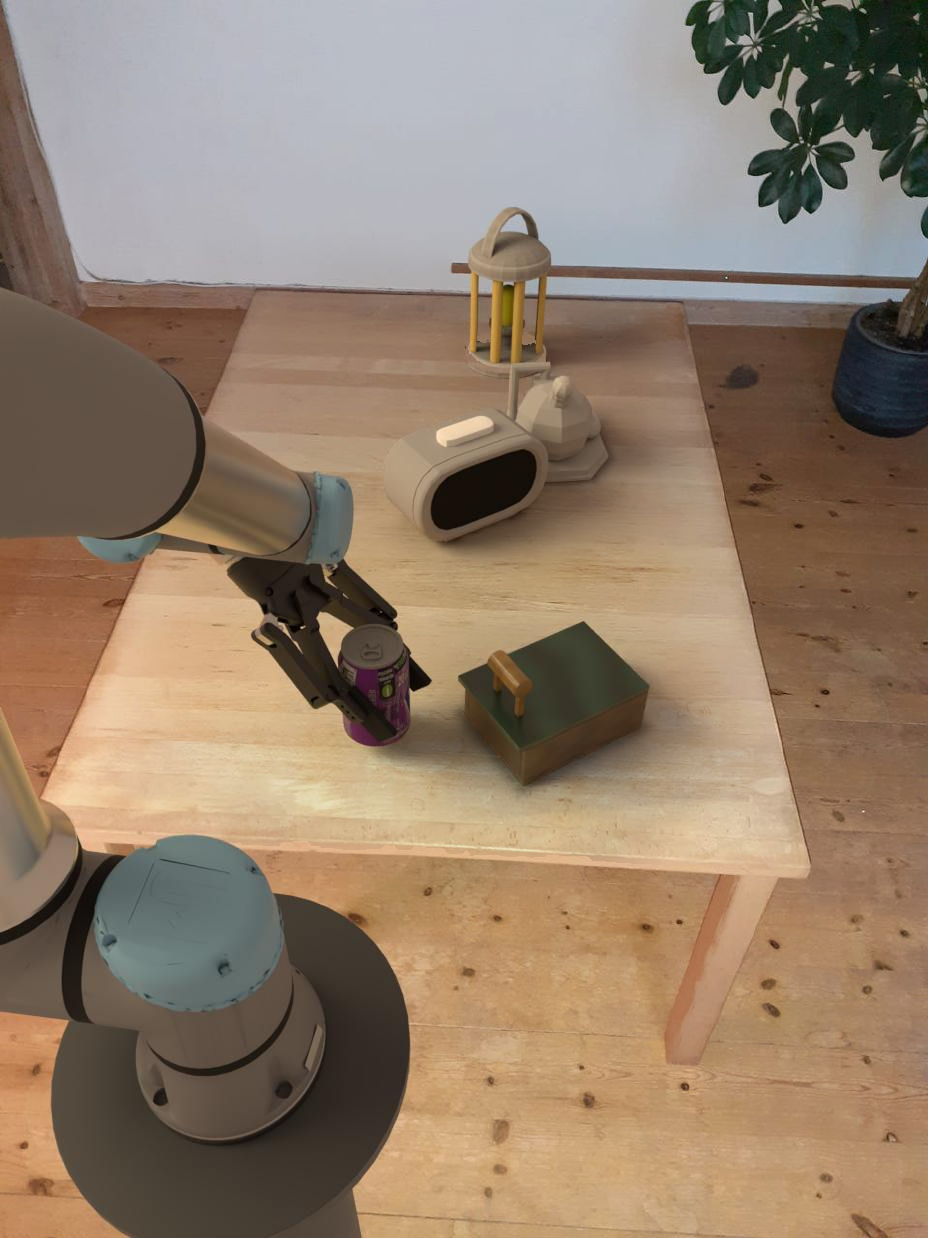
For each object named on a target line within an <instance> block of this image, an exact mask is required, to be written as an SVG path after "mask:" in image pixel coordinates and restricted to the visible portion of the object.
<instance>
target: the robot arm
mask: <svg viewBox="0 0 928 1238" xmlns="http://www.w3.org/2000/svg"><path fill="white" fill-rule="evenodd" d="M354 505H355V504H354V495H353V490H352V487H351V485H350V483H349V482H348V480H347V479H345V477H342V476H339V475H333V474H324V473H321V472H319V471H313V472H306V471H297V470H293V469H291V468H289V467H288V466H286V465H285V464H283V463H281V462H279V461H278V460H276V459H274V458H273V457H271V456H270V455H268V454H266V453H265V452H263V451H261V450H259V449H258V448H256V447H255V446H253V445H251V444H249V443H248V442H246V441H244V439H241V438H240V437H238V436H237V435H235V434H233V433H232V432H230V431H228V430H227V429H226V428H223V427H222V426H220V425H219V424H217V423H215V422H213V421H212V420H211V419H209V418H207V417H206V416H204V415H202V411H201V410H200V408H199V405H198V403H197V401H196V400H195V399H194V397H193V395H192V393H191V392H190V391H189V390H188V389H187V387H186V386H185V385H184V384H183V383H182V382H181V381H180V380H179V379H178V378H177V377H175V376H174V375H173V374H172V373H171V372H169V371H168V370H167V369H165V368H164V367H162V366H160V365H159V364H158V363H156V362H155V361H153V360H151V359H150V358H148V357H147V356H145V354H142V353H141V352H140V351H138V350H136V349H134V348H133V347H131V346H128V345H126V344H125V343H123V342H121V341H120V340H118V339H117V338H114V337H113V336H111V335H109V334H107V333H105V332H103V331H101V330H99V329H98V328H95V327H94V326H92V325H90V324H88V323H86V322H84V321H82V320H80V319H77V318H75V317H73V316H71V315H69V314H66V313H64V312H62V311H60V310H58V309H56V308H53V307H52V306H49V305H48V304H45V303H43V302H41V301H38V300H35V299H34V298H31V297H28V296H26V295H25V294H21V293H18V292H15V291H12V290H10V289H8V288H7V289H6V288H4V287H1V286H0V539H24V538H25V539H26V538H30V539H31V538H64V537H67V538H71V537H73V538H75V537H77V539H78V541H79V542H80V544H81V545H82V546H83V547H84V548H85V549H86V550H87V551H88V552H89V553H90V554H92V555H93V556H95V557H97V558H98V559H99V560H102V561H105V562H108V563H111V564H116V565H126V564H133V563H134V562H138V561H139V560H141V559H144V558H146V557H147V556H151V555H152V554H153V553H154V552H155V551H156V550H167V551H176V552H186V553H198V554H207V556H209V558H210V559H211V560H212V561H213V562H214V563H215V564H216V565H217V566H221V567H223V566H225V565H226V566H227V569H226V576H227V577H228V578H229V579H230V580H231V582H233V584H235V585H236V586H237V588H239V590H240V591H241V592H242V594H244V595H245V596H246V597H248V598H249V599H252V600H254V601H255V602H256V603H257V604H258V606H259V607H260V609H261V613H262V615H263V618H262V620H261V622H260V623H259V626H258V627H257V628H255V629H253V630H252V631H251V632H250V638H251V640H252V641H253V642H255V643H256V644H258V645H259V646H261V647H262V648H263V649H264V650H266V651H267V652H269V654H270V655H271V657H272V658H273V659H274V660H275V662H276V663H277V664H278V666H279V667H280V668H281V670H283V672H284V673H285V675H286V676H287V677H288V679H289V680H290V681H291V683H292V684H293V685H294V686H295V688H296V689H297V690H298V691H299V693H300V695H302V696H303V698H304V699H305V701H306V702H307V703H308V704H309V705H310V707H311V708H312V709H314V710H318V709H321V708H323V707H325V706H327V705H329V704H332V705H334V706H335V707H336V708H337V709H338V710H339V711H340V712H341V714H342V715H343V714H344V715H345V716H346V717H347V718H348V719H349V720H350V721H351V722H352V723H354V724H358V723H360V724H361V725H362V726H363V727H364V728H365V729H366V730H367V731H368V732H369V733H370V734H371V735H372V736H373V737H374V738H375V740H376V741H377V742H378V743H379V742H382V741H385V740H387V739H390V738H392V737H395V735H396V734H397V732H398V730H397V729H396V728H395V727H394V726H393V725H392V724H391V723H390V722H389V721H388V720H387V719H386V718H385V717H384V715H383V714H382V713H381V712H380V711H379V710H378V709H377V708H376V707H375V706H374V705H373V704H372V703H371V702H370V700H369V699H368V698H367V697H366V696H365V695H364V694H363V693H362V692H361V691H360V690H359V689H358V688H357V687H356V686H355V685H354V686H352V687H350V688H347V685H346V683H345V681H344V679H343V677H342V675H341V673H340V671H339V669H338V664H337V663H336V661H335V659H334V657H333V655H332V653H331V652H330V649H329V648H328V645H327V643H326V642H325V640H324V637H323V635H322V634H321V632H320V628H321V625H320V622H319V619H318V617H319V615H320V613H322V614H323V613H324V614H329V616H332V617H334V618H335V619H337V620H339V621H340V622H342V623H343V624H346V625H347V626H349V627H351V628H353V629H354V628H356V627H359V626H362V625H366V624H382V625H386V626H389V627H391V628H393V629H394V630H396V631H397V632H398V630H399V625H398V622H396V621H395V619H396V618H397V617H398V611H397V610H396V609H395V607H394V606H392V605H391V604H390V603H389V602H388V601H387V600H386V599H385V598H384V597H383V596H382V595H381V594H380V593H378V591H376V590H375V589H374V588H373V587H372V586H371V585H370V584H369V583H368V582H366V580H365V579H363V578H362V577H361V576H360V575H359V574H358V573H357V572H356V571H355V570H354V569H353V568H351V566H349V564H348V563H347V561H346V560H345V557H346V555H347V553H348V551H349V547H350V544H351V540H352V533H353V527H354V509H355V508H354V507H355V506H354ZM326 579H327V580H328V581H329V582H328V581H326ZM331 583H332V584H331ZM279 623H280V624H279ZM282 624H283V625H284V626H285V628H286V630H287V633H288V634H289V635H288V634H287V633H286V632H284V629H285V628H284V626H283V625H282ZM295 642H296V643H295ZM296 644H297V645H298V646H297V645H296ZM403 645H404V646H405V647H406V649H407V652H408V657H409V686H410V691H411V692H412V693H414V692H417V691H419V690H421V689H423V688H426V687H428V686H430V685H431V683H432V681H433V680H432V678H431V677H430V676H429V675H428V674H427V673H426V671H424V669H423V668H422V667H421V666H420V665H419V664H418V663H417V662H416V661H415V659H413V657H412V656H411V655H412V651H411V649H410V647H408V646H407V644H406V643H405V642H404V641H403ZM273 893H274V892H273V890H272V887H271V886H270V882H269V880H268V878H267V876H266V875H265V873H264V872H263V870H262V869H261V867H260V866H259V865H258V863H257V862H256V861H255V860H254V859H253V857H251V856H250V855H249V854H248V853H246V852H245V851H243V849H241V848H239V847H238V846H236V845H234V844H232V843H230V842H227V841H225V840H224V839H220V838H218V837H217V838H216V837H213V836H208V835H202V834H178V835H170V836H165V837H162V838H159V839H156V841H155V843H154V845H152V846H150V847H148V848H145V847H144V846H141V847H138V848H137V849H134V850H133V851H132V852H130V853H129V854H128V855H124V854H123V855H122V854H115V853H108V852H100V851H93V850H87V849H85V848H83V846H82V843H81V840H80V838H79V835H78V833H77V830H76V827H75V825H74V823H73V822H72V820H71V818H70V816H68V814H67V813H66V812H65V811H63V810H62V809H61V808H60V807H58V806H57V805H55V804H54V803H53V802H50V801H48V800H46V799H43V798H40V797H38V796H37V794H36V791H35V789H34V786H33V784H32V781H31V779H30V776H29V774H28V771H27V768H26V765H25V764H24V762H23V759H22V756H21V754H20V752H19V749H18V747H17V745H16V742H15V740H14V737H13V734H12V732H11V729H10V727H9V724H8V721H7V719H6V717H5V715H4V712H3V710H2V707H1V706H0V1012H1V1013H8V1014H17V1015H24V1016H31V1017H39V1018H46V1019H54V1020H62V1021H76V1022H83V1023H90V1024H97V1025H104V1026H111V1027H118V1028H125V1029H132V1030H137V1031H139V1035H138V1040H137V1046H136V1071H137V1077H138V1082H139V1085H140V1089H141V1091H142V1094H143V1096H144V1098H145V1100H146V1102H147V1104H148V1106H149V1107H150V1109H151V1111H152V1112H153V1114H154V1115H155V1116H156V1118H157V1119H158V1120H159V1121H160V1122H161V1123H162V1124H163V1125H164V1126H165V1127H166V1128H167V1129H169V1130H170V1131H171V1132H173V1133H174V1134H176V1135H177V1136H179V1137H181V1138H184V1139H186V1140H188V1141H191V1142H194V1143H199V1144H203V1145H213V1146H224V1145H233V1144H238V1143H242V1142H246V1141H249V1140H252V1139H255V1138H257V1137H259V1136H262V1135H264V1134H266V1133H267V1132H269V1131H271V1130H273V1129H274V1128H276V1127H277V1126H279V1125H280V1124H282V1123H283V1122H284V1121H285V1120H287V1119H288V1118H289V1117H290V1116H291V1115H292V1114H293V1113H294V1112H295V1111H296V1110H297V1109H298V1108H299V1107H300V1106H301V1104H302V1103H303V1102H304V1101H305V1099H306V1098H307V1097H308V1095H309V1094H310V1092H311V1090H312V1089H313V1087H314V1085H315V1083H316V1081H317V1079H318V1077H319V1074H320V1072H321V1069H322V1066H323V1062H324V1058H325V1053H326V1043H327V1033H326V1024H325V1019H324V1014H323V1009H322V1006H321V1003H320V1000H319V998H318V996H317V994H316V992H315V990H314V988H313V987H312V985H311V984H310V982H309V981H308V980H307V978H306V977H305V976H304V975H303V974H302V973H301V972H300V971H299V970H298V969H297V968H295V967H294V966H293V965H292V964H290V963H289V958H288V953H287V948H286V943H285V938H284V933H283V921H282V914H281V910H280V906H279V905H278V902H277V899H276V897H275V896H274V894H273Z"/></svg>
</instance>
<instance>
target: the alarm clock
mask: <svg viewBox="0 0 928 1238" xmlns="http://www.w3.org/2000/svg"><path fill="white" fill-rule="evenodd" d="M547 471H548V454H547V450H546V447H545V446H544V445H543V444H542V442H541V441H540V440H539V439H537V438H536V437H535V436H533V435H532V434H531V433H530V432H528V431H527V430H526V429H524V428H523V427H522V426H521V425H519V424H518V423H517V422H515V421H514V420H513V419H511V418H510V417H509V416H508V415H506V413H505V412H504V411H502V410H501V409H498V408H496V407H493V406H492V407H487V408H481V409H477V410H473V411H470V412H467V413H464V414H461V415H459V416H455V417H453V418H450V419H446V420H444V421H440V422H438V423H434V424H431V425H428V426H426V427H423V428H420V429H418V430H416V431H413V432H411V433H409V434H407V435H405V436H403V437H401V438H400V439H399V440H397V442H396V443H395V444H394V445H393V446H392V447H391V448H390V450H389V451H388V453H387V455H386V457H385V459H384V463H383V467H382V472H381V473H382V475H381V483H382V488H383V489H382V490H383V492H384V494H385V496H386V499H387V500H388V501H389V502H390V503H391V504H392V505H393V507H395V508H396V509H397V510H398V511H399V512H400V513H401V514H402V515H403V516H404V517H405V518H406V519H407V520H408V521H409V522H410V523H411V524H412V525H413V526H414V527H415V528H416V529H417V530H418V531H419V532H420V533H421V534H423V535H424V536H425V537H426V538H427V539H428V540H432V541H437V542H442V541H444V542H445V543H447V542H450V541H452V540H453V541H454V540H455V539H457V538H460V537H462V536H465V535H468V534H470V533H473V532H475V531H478V530H480V529H483V528H485V527H488V526H490V525H493V524H495V523H498V522H500V521H503V520H506V519H508V518H510V517H512V516H516V515H517V513H518V512H520V511H521V510H523V509H526V508H527V507H530V505H531V504H532V503H534V501H535V500H536V499H537V498H538V497H539V495H540V493H541V491H542V490H543V488H544V486H545V484H546V482H545V480H546V477H547Z"/></svg>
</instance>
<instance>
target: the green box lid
mask: <svg viewBox="0 0 928 1238" xmlns="http://www.w3.org/2000/svg"><path fill="white" fill-rule="evenodd" d="M457 681H458V683H459V684H460V685H461V686H462V687H463V689H464V691H465V690H466V691H467V692H468V693H469V694H470V696H471V697H472V698H473V699H474V700H475V702H476V703H477V704H478V705H479V706H480V708H481V709H482V710H483V711H484V712H485V714H486V715H487V716H488V717H489V718H490V720H491V721H492V722H493V723H494V724H495V726H496V727H497V728H498V729H499V730H500V732H501V733H502V734H503V735H504V736H505V738H506V739H507V740H508V741H509V742H510V743H511V745H512V746H513V747H514V748H515V749H516V751H517V752H518V753H522V752H524V751H526V750H528V749H530V748H532V747H534V746H536V745H538V744H540V743H542V742H544V741H546V740H548V739H550V738H552V737H554V736H556V735H559V734H561V733H563V732H565V731H567V730H569V729H571V728H573V727H575V726H577V725H579V724H581V723H583V722H585V721H587V720H589V719H591V718H594V717H596V716H598V715H600V714H602V713H604V712H606V711H608V710H610V709H612V708H614V707H616V706H618V705H620V704H622V703H624V702H626V701H628V700H631V699H633V698H635V697H637V696H639V695H641V694H643V693H645V692H647V691H648V692H649V691H650V687H651V686H650V684H649V683H648V682H647V681H646V680H644V678H643V677H642V676H641V675H639V673H637V672H636V670H635V669H633V667H631V666H630V665H629V664H628V663H627V661H625V660H624V659H623V658H622V657H621V656H620V655H619V654H618V653H617V652H616V651H615V650H614V649H613V648H612V647H611V646H610V645H609V644H608V643H607V642H606V641H605V640H604V639H603V638H602V637H601V636H600V635H599V634H598V633H596V632H595V630H594V629H593V628H592V627H590V626H589V625H588V624H587V622H586V621H585V620H582V621H580V622H578V623H575V624H573V625H570V626H569V627H566V628H564V629H562V630H559V631H557V632H554V633H552V634H550V635H548V636H545V637H543V638H541V639H538V640H536V641H533V642H531V643H530V644H527V645H525V646H523V647H520V648H518V649H515V650H514V651H513V650H512V651H511V652H508V653H507V652H506V651H504V650H503V649H499V650H495V651H494V652H493V653H491V655H490V656H489V657H488V658H487V662H486V663H483V664H481V665H479V666H477V667H475V668H471V669H469V670H468V671H464V672H463V673H461V674H458V675H457Z"/></svg>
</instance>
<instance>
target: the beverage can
mask: <svg viewBox="0 0 928 1238" xmlns="http://www.w3.org/2000/svg"><path fill="white" fill-rule="evenodd" d="M403 642H404V640H403V636H402V635H401V634H400V633H399V632H398V630H397V631H396V630H394V629H393V628H391V627H389V626H386V625H382V624H366V625H362V626H359V627H356V628H353V629H351V630H349V631H348V632H347V633H346V634H345V635H344V636H343V638H342V640H341V643H340V649H339V652H338V655H337V667H338V669H339V671H340V673H341V675H342V677H343V679H344V681H345V683H346V685H347V688H350V687H352V686H354V685H355V686H356V687H357V688H358V689H359V690H360V691H361V692H362V693H363V694H364V695H365V696H366V697H367V698H368V699H369V700H370V702H371V703H372V704H373V705H374V706H375V707H376V708H377V709H378V710H379V711H380V712H381V713H382V714H383V715H384V717H385V718H386V719H387V720H388V721H389V722H390V723H391V724H392V725H393V726H394V727H395V728H396V729H397V730H398V732H397V734H396V735H395V737H392V738H390V739H387V740H385V741H382V742H379V743H378V742H377V741H376V740H375V738H374V737H373V736H372V735H371V734H370V733H369V732H368V731H367V730H366V729H365V728H364V727H363V726H362V725H361V724H360V723H358V724H354V723H352V722H351V721H350V720H349V719H348V718H347V717H346V716H345V715H344V714H343V713H342V720H343V723H342V724H343V728H344V731H345V733H346V734H347V736H348V737H349V738H350V739H351V740H352V741H354V742H355V743H358V744H360V745H362V746H367V747H379V748H380V747H385V746H389V745H392V744H394V743H396V742H398V741H399V740H401V739H402V738H404V736H405V735H406V734H407V733H408V731H409V729H410V728H411V727H410V726H411V721H412V720H411V718H412V717H411V692H410V691H411V689H410V686H409V657H408V652H407V649H406V647H405V646H404V645H403Z"/></svg>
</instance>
